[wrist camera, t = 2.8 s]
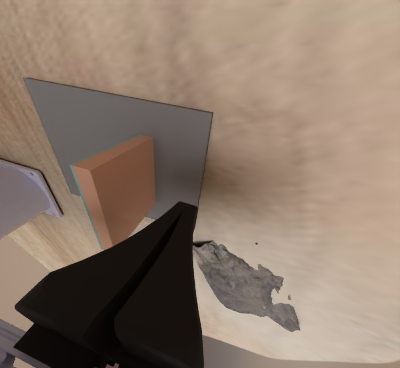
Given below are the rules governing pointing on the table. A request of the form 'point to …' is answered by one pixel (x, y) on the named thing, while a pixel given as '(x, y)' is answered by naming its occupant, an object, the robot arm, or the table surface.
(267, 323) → the table surface
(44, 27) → the table surface
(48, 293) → the robot arm
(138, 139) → the tile
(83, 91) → the mat
